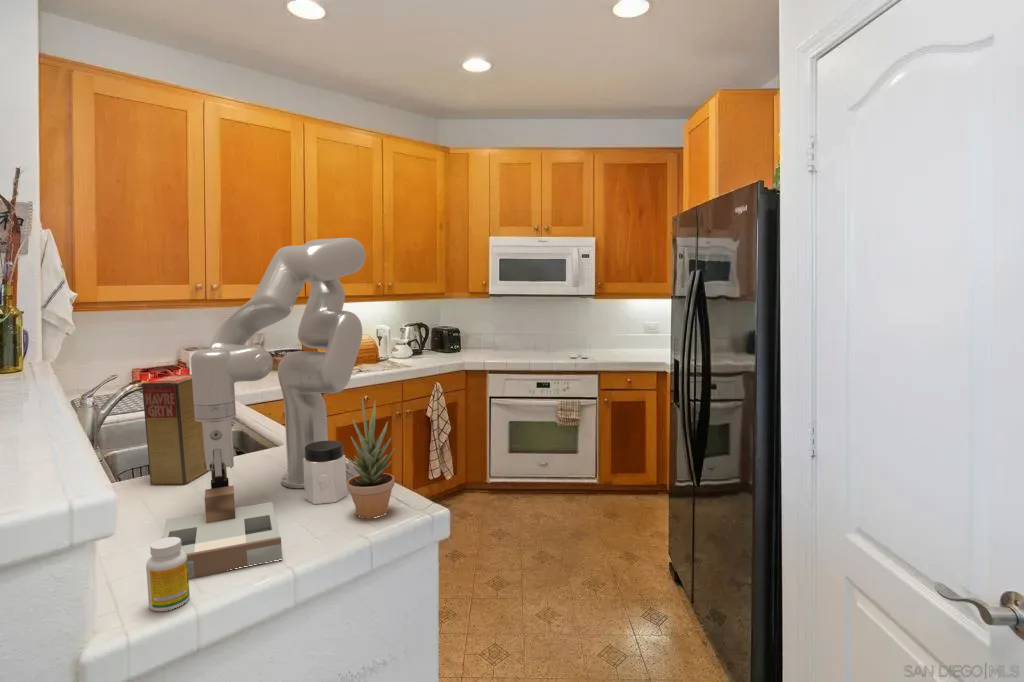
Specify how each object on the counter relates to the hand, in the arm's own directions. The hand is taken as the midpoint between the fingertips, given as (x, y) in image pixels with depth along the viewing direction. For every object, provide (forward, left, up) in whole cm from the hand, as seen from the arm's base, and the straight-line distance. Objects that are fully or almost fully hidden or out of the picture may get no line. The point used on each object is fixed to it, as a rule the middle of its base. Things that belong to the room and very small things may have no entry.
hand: (220, 498), depth 122 cm
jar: (-21, -2, -4) cm, 22 cm away
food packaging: (+9, -34, -4) cm, 36 cm away
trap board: (0, +15, -4) cm, 15 cm away
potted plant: (-28, +12, -4) cm, 31 cm away
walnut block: (0, +7, -1) cm, 7 cm away
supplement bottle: (+7, +33, -4) cm, 34 cm away
